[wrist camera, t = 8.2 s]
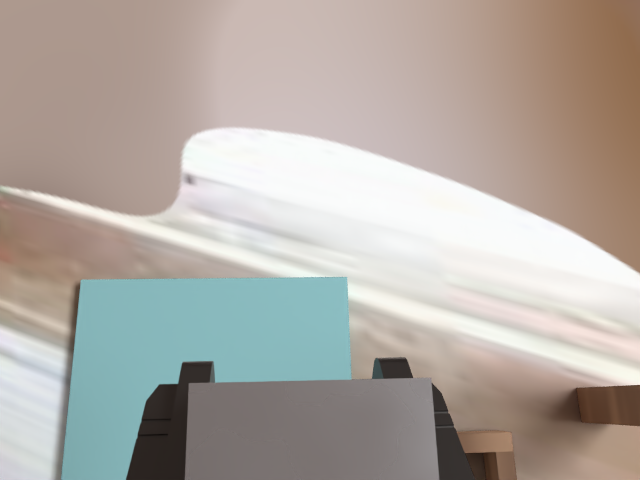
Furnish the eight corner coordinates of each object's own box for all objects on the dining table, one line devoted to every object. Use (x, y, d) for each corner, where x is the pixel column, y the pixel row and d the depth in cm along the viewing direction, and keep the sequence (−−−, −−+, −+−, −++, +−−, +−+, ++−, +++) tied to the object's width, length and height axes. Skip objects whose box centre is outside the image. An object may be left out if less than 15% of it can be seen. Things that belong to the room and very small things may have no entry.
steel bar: (223, 529, 16) (176, 678, 8) (226, 391, 17) (188, 383, 9) (355, 523, 17) (453, 656, 8) (350, 388, 18) (431, 377, 9)
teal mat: (59, 538, 29) (54, 541, 28) (84, 281, 33) (80, 279, 32) (356, 524, 30) (357, 527, 30) (345, 279, 34) (347, 276, 34)
